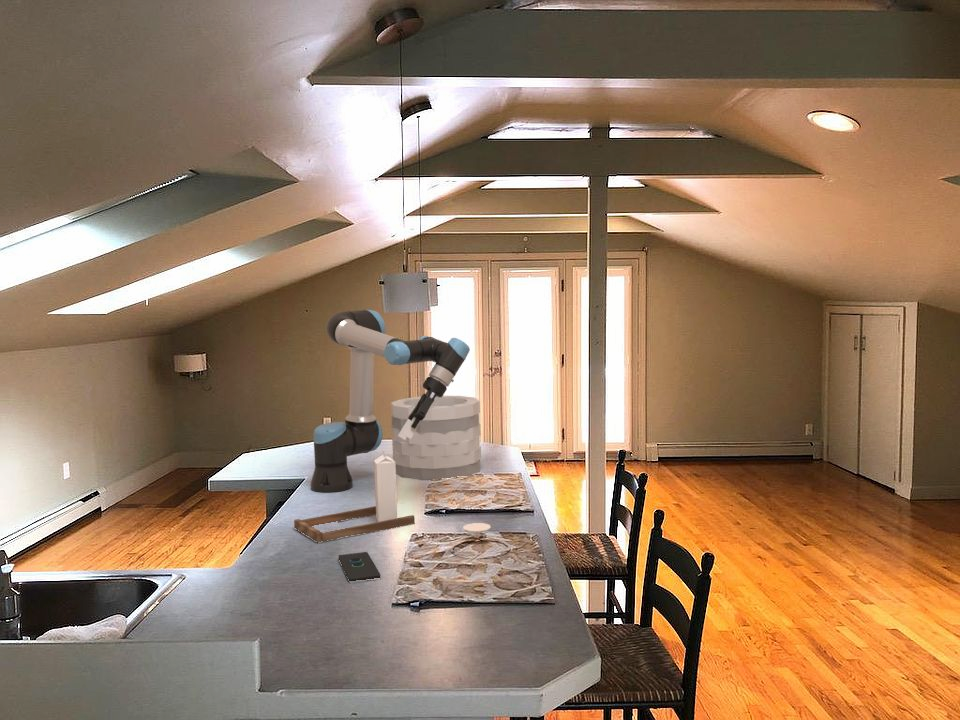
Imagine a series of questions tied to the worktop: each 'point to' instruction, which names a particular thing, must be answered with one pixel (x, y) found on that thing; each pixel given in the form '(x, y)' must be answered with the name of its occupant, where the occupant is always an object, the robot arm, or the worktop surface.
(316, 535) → the bay
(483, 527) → the hand towel holder
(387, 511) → the milk
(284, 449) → the worktop surface
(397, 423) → the storage basket
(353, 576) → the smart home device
